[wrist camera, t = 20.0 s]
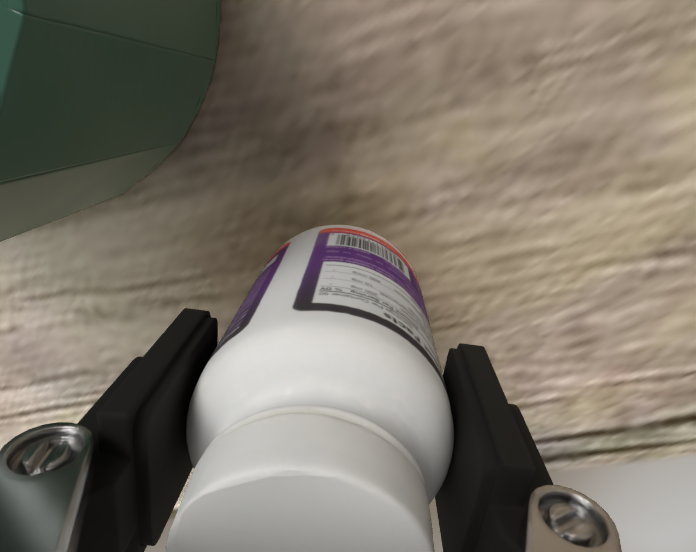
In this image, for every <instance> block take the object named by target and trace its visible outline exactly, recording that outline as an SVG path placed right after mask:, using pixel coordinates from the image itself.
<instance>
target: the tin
mask: <svg viewBox="0 0 696 552" xmlns="http://www.w3.org/2000/svg"><path fill="white" fill-rule="evenodd" d="M220 19H221V0H0V242H1V241H3V240H6V239H8V238H11V237H14V236H16V235H19V234H21V233H24V232H26V231H29V230H32V229H34V228H37V227H39V226H42V225H45V224H47V223H50V222H52V221H55V220H57V219H60V218H63V217H65V216H68V215H70V214H73V213H75V212H78V211H81V210H83V209H86V208H88V207H91V206H94V205H96V204H99V203H101V202H104V201H106V200H109V199H112V198H114V197H117V196H119V195H122V194H123V193H125V192H127V191H128V190H129V189H130V188H131V187H132V186H133V185H134V184H135V183H137V182H139V181H140V180H141V179H143V178H144V177H145V176H147V175H148V174H149V173H150V172H152V171H153V170H154V169H156V168H157V167H158V166H159V165H160V164H161V163H162V162H163V161H164V160H165V159H166V158H167V157H168V156H169V155H170V153H171V152H172V151H173V150H174V149H175V148H176V147H177V145H178V144H179V143H180V141H182V139H183V137H184V135H185V134H186V132H187V131H188V130H189V128H190V127H191V125H192V123H193V121H194V119H195V117H196V115H197V113H198V111H199V109H200V107H201V105H202V103H203V100H204V97H205V94H206V92H207V89H208V86H209V83H210V80H211V77H212V74H213V69H214V64H215V59H216V54H217V49H218V43H219V31H220Z"/></svg>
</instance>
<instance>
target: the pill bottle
mask: <svg viewBox="0 0 696 552" xmlns="http://www.w3.org/2000/svg"><path fill="white" fill-rule="evenodd" d="M186 437H187V446H188V451H189V456H190V459H191V462H192V465H193V468H194V470H193V473H192V475H191V478H190V481H189V483H188V486H187V489H186V491H185V494H184V496H183V499H182V501H181V504H180V506H179V509H178V511H177V513H176V516H175V518H174V521H173V523H172V526H171V529H170V532H169V535H168V539H167V545H166V552H434V544H433V532H432V523H431V517H430V510H429V504H430V502H431V501H432V500H433V499H434V497H435V496H436V494H437V493H438V491H439V490H440V488H441V486H442V484H443V482H444V480H445V477H446V475H447V472H448V469H449V466H450V462H451V458H452V453H453V445H454V425H453V419H452V413H451V408H450V401H449V397H448V393H447V389H446V385H445V382H444V378H443V374H442V371H441V367H440V363H439V359H438V356H437V352H436V348H435V344H434V340H433V336H432V332H431V328H430V324H429V320H428V316H427V312H426V308H425V305H424V300H423V296H422V293H421V289H420V286H419V283H418V280H417V277H416V275H415V273H414V271H413V269H412V267H411V265H410V263H409V262H408V260H407V259H406V258H405V257H404V255H403V254H402V253H401V252H400V251H399V250H398V249H397V248H396V247H395V246H394V245H393V244H392V243H390V242H389V241H388V240H386V239H385V238H383V237H381V236H380V235H378V234H376V233H374V232H372V231H369V230H366V229H363V228H360V227H355V226H349V225H327V226H320V227H316V228H312V229H309V230H306V231H304V232H302V233H299V234H298V235H296V236H294V237H292V238H291V239H290V240H288V241H287V242H285V243H284V244H283V245H282V246H281V247H280V248H279V249H278V250H277V251H276V252H275V253H274V254H273V255H272V256H271V258H270V259H269V260H268V262H267V263H266V264H265V266H264V267H263V269H262V271H261V272H260V274H259V276H258V278H257V279H256V281H255V283H254V285H253V286H252V288H251V290H250V292H249V293H248V295H247V297H246V299H245V300H244V302H243V304H242V305H241V307H240V309H239V310H238V312H237V314H236V315H235V317H234V319H233V320H232V322H231V324H230V325H229V327H228V329H227V330H226V332H225V334H224V336H223V337H222V339H221V341H220V342H219V344H218V345H217V347H216V349H215V351H214V352H213V354H212V356H211V357H210V359H209V360H208V362H207V364H206V366H205V367H204V369H203V371H202V373H201V375H200V377H199V380H198V382H197V384H196V386H195V388H194V391H193V394H192V397H191V400H190V404H189V409H188V414H187V423H186Z"/></svg>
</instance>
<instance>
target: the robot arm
mask: <svg viewBox="0 0 696 552" xmlns="http://www.w3.org/2000/svg"><path fill="white" fill-rule="evenodd" d="M217 338H218V321H217V318H212V317H211V315H210V312H209V311H204V310H196V309H188V308H185V309H184V310H183V311H182V312H181V313H180V314H179V315H178V316H177V318H176V319H175V320H174V321H173V322H172V324H171V325H170V326H169V327H168V328H167V329H166V331H165V332H164V333H163V334H162V335H161V336H160V338H159V339H158V340H157V341H156V342H155V344H154V345H153V346H152V347H151V348H150V349H149V351H148V352H147V353H146V354H145V355H144V357H136V358H135V359H134V360H133V361H132V362H131V363H130V364H129V365H128V367H127V368H126V369H125V370H124V371H123V372H122V373H121V375H120V376H119V377H118V378H117V379H116V380H115V381H114V383H113V384H112V385H111V386H110V387H109V388H108V389H107V391H106V392H105V393H104V394H103V395H102V396H101V397H100V399H99V400H98V401H97V402H96V403H95V404H94V405H93V407H92V408H91V409H90V410H89V411H88V412H87V413H86V415H85V416H84V417H83V418H82V419H81V420H80V421H79V423H78V424H74V423H62V422H57V423H51V424H45V425H41V426H38V427H35V428H32V429H29V430H27V431H25V432H23V433H21V434H20V435H18V436H16V437H14V438H13V439H12V440H11V441H9V442H8V443H7V444H5V445H4V447H3V448H2V449H1V451H0V552H144V551H145V548H146V546H147V545H151V546H154V545H156V543H157V542H158V540H159V538H160V536H161V534H162V532H163V529H164V527H165V525H166V523H167V521H168V519H169V517H170V515H171V513H172V510H173V508H174V506H175V504H176V502H177V500H178V498H179V496H180V493H181V491H182V489H183V487H184V485H185V483H186V481H187V479H188V476H189V474H190V472H191V470H192V468H193V465H192V462H191V459H190V456H189V451H188V446H187V437H186V423H187V414H188V409H189V404H190V400H191V397H192V394H193V391H194V388H195V386H196V384H197V382H198V380H199V377H200V375H201V373H202V371H203V369H204V367H205V366H206V364H207V362H208V360H209V359H210V357H211V356H212V354H213V352H214V351H215V349H216V347H217ZM443 378H444V382H445V385H446V389H447V393H448V397H449V401H450V408H451V413H452V419H453V425H454V445H453V453H452V458H451V462H450V466H449V469H448V472H447V475H446V477H445V480H444V482H443V484H442V486H441V488H440V490H439V491H438V493H437V494H436V496H435V499H436V506H437V513H438V519H439V526H440V532H441V539H442V545H443V552H622V551H621V545H620V539H619V534H618V531H617V529H616V526H615V523H614V522H613V521H612V519H611V518H610V516H609V515H608V513H607V512H606V511H605V510H604V509H603V508H601V507H600V506H599V505H598V504H597V503H596V502H595V501H593V500H592V499H590V498H589V497H587V496H586V495H584V494H582V493H580V492H578V491H576V490H573V489H571V488H567V487H563V486H559V485H553V483H552V480H551V478H550V476H549V474H548V471H547V469H546V467H545V465H544V462H543V460H542V458H541V456H540V454H539V451H538V449H537V447H536V445H535V443H534V440H533V438H532V436H531V434H530V432H529V429H528V427H527V425H526V423H525V421H524V418H523V416H522V414H521V412H520V410H519V408H518V407H517V406H516V405H514V404H508V402H507V399H506V397H505V395H504V392H503V390H502V388H501V385H500V383H499V381H498V378H497V376H496V374H495V371H494V369H493V367H492V364H491V362H490V360H489V357H488V355H487V353H486V350H485V348H484V347H483V346H476V345H469V344H461V343H460V344H459V345H458V347H457V349H454V348H450V350H449V353H448V356H447V361H446V365H445V370H444V374H443Z"/></svg>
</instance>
